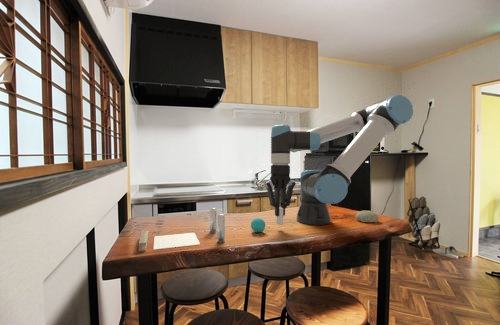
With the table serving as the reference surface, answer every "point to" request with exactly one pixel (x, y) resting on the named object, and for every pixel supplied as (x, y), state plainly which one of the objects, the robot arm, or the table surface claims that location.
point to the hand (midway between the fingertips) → (279, 224)
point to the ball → (258, 225)
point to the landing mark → (175, 241)
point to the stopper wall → (143, 241)
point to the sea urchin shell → (367, 216)
